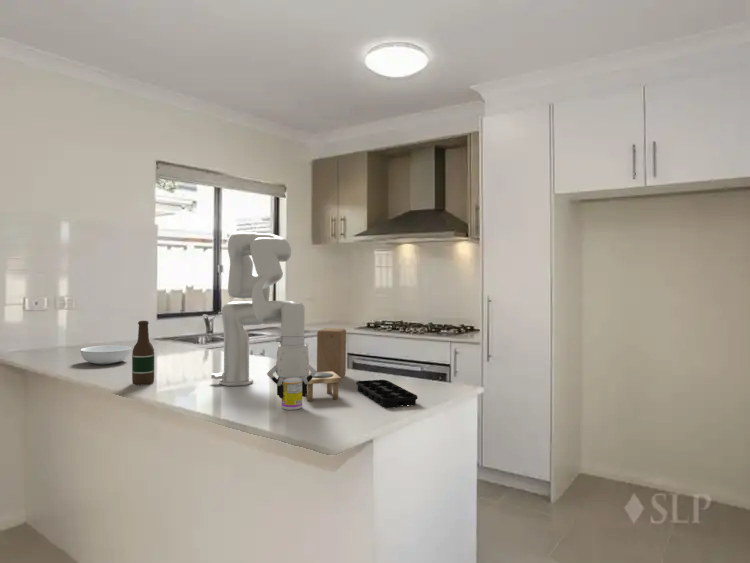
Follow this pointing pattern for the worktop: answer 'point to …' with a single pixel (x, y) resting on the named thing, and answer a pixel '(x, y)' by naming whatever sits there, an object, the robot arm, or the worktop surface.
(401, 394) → the egg carton
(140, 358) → the beer bottle
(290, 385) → the supplement bottle
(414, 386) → the worktop surface
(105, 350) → the serving bowl
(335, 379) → the footstool
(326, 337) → the wooden block
